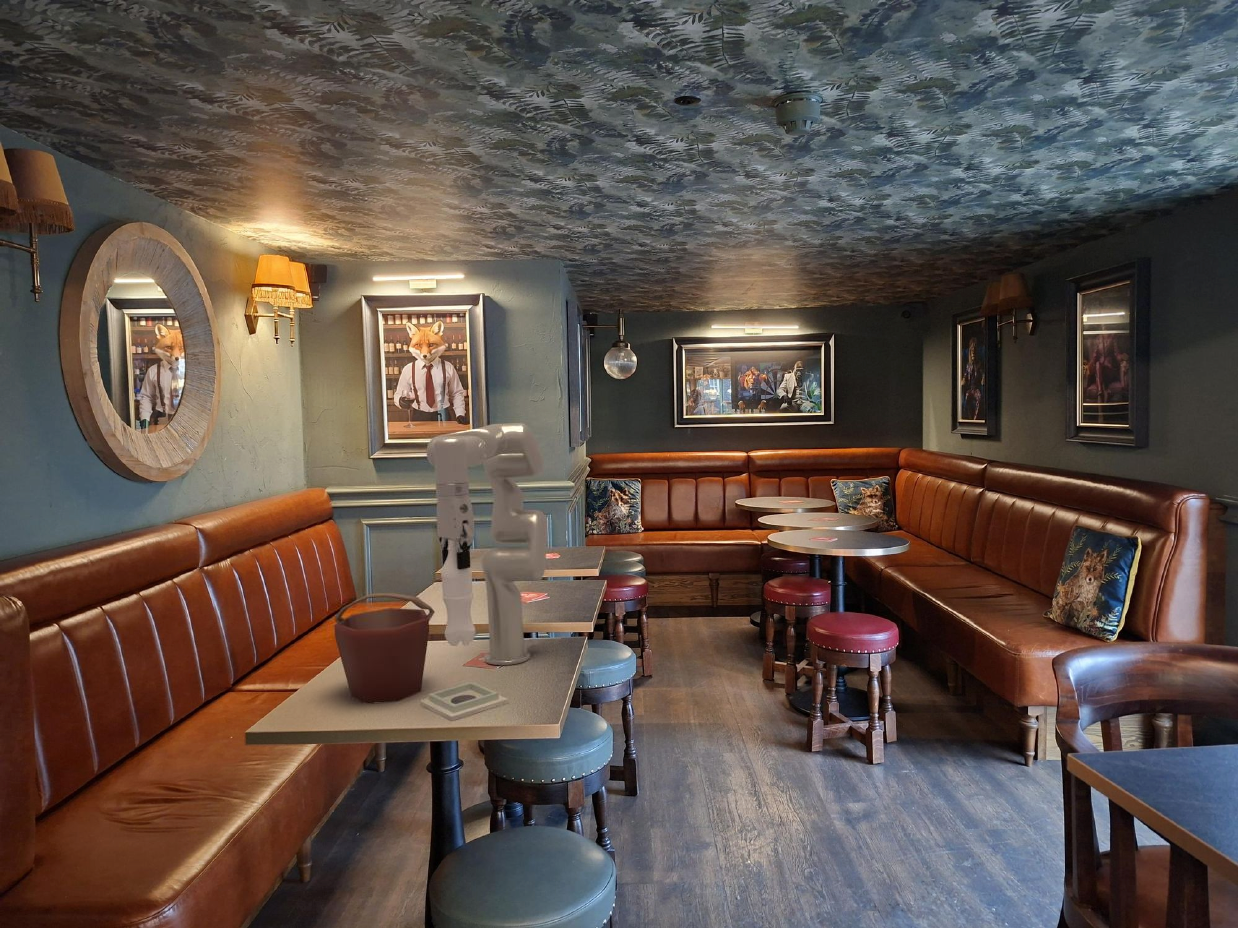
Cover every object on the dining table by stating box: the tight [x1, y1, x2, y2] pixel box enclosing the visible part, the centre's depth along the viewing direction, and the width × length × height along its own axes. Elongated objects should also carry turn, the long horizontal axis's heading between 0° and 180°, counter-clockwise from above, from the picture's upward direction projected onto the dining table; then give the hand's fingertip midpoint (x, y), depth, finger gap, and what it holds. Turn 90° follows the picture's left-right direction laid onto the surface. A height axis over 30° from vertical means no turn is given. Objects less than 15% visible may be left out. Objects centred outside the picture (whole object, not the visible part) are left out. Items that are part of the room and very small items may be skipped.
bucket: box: [333, 592, 436, 704], centre depth 198 cm, size 24×22×25 cm
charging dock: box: [419, 681, 509, 722], centre depth 188 cm, size 15×15×2 cm
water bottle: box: [440, 539, 476, 647], centre depth 187 cm, size 7×7×25 cm
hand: (456, 566), depth 186 cm, fingers closed on water bottle, 6 cm apart
